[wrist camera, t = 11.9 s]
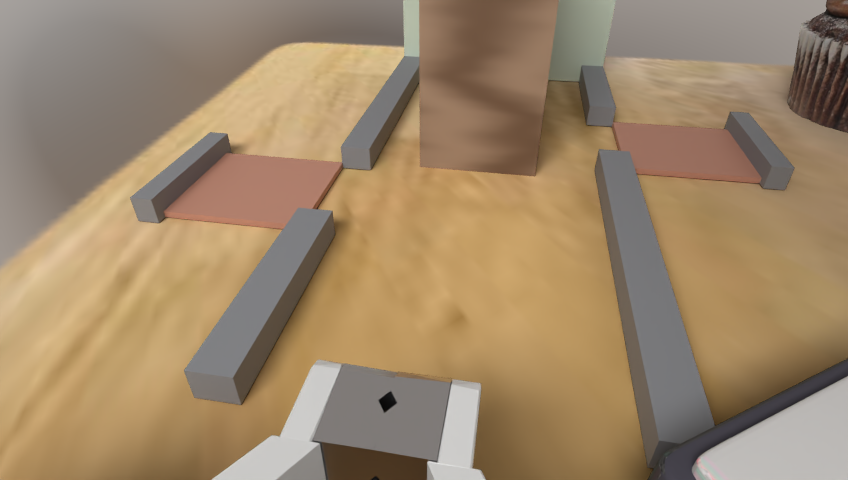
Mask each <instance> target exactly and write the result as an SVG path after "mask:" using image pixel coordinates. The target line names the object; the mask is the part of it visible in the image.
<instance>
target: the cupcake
mask: <svg viewBox="0 0 848 480" xmlns="http://www.w3.org/2000/svg"><path fill="white" fill-rule="evenodd" d="M826 8H827V9H826V11H825V12H824V13H822V14H820V15H819V16H816V17H815V18H813V19H812V20H811V21H807V22H806V23H803V24H802V25H801V29H800V33H799V41H798V48H797V53H796V60H795V65H794V72H793V76H792V81H791V85H790V91H789V96H788V100H787V103H788V105H789V106H790V109H791V110H792V111H793V112H795V113H796V114H798V115H800V116H801V117H803V118H807V119H809V120H811V121H812V122H815V123H818V124H819V125H822V126H825V127H829V128H833V129H836V130H840V131H843V132H847V133H848V0H827V3H826Z"/></svg>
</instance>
